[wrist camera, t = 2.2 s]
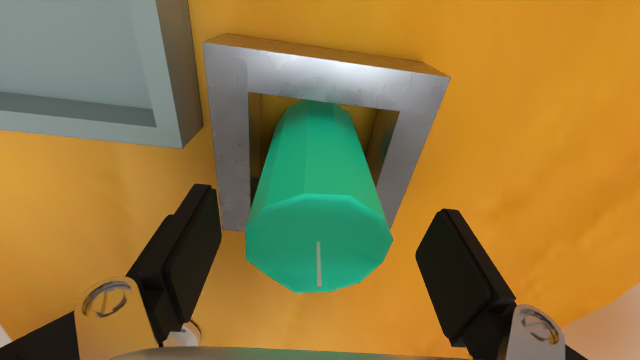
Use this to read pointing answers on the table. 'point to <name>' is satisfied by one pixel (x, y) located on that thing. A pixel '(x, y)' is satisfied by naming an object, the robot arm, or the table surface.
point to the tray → (99, 70)
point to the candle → (316, 204)
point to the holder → (320, 85)
